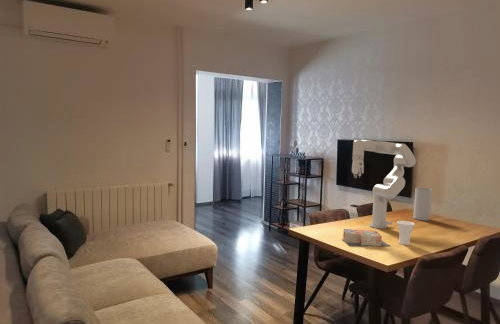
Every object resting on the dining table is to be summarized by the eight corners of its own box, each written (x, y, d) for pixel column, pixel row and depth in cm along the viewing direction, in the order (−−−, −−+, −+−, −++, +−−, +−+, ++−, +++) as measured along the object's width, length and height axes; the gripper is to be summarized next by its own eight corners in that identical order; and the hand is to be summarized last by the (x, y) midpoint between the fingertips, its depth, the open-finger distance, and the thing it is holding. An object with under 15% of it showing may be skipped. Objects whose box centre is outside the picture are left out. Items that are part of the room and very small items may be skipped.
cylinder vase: (411, 219, 300) (414, 188, 298) (414, 216, 311) (417, 187, 308) (428, 221, 293) (431, 190, 291) (431, 218, 304) (433, 189, 301)
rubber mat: (379, 239, 240) (379, 239, 240) (390, 246, 227) (390, 245, 227) (341, 239, 236) (341, 239, 236) (350, 246, 223) (350, 246, 223)
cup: (415, 246, 227) (416, 225, 226) (397, 245, 229) (398, 224, 227) (410, 241, 237) (412, 221, 236) (393, 240, 239) (395, 220, 238)
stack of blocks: (342, 238, 239) (345, 244, 227) (343, 228, 239) (346, 234, 227) (376, 240, 237) (381, 246, 225) (377, 230, 237) (382, 236, 224)
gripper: (367, 158, 252) (366, 185, 254) (358, 156, 267) (357, 181, 269) (357, 158, 251) (355, 185, 253) (348, 156, 266) (347, 181, 268)
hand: (356, 183), depth 261 cm, fingers closed
